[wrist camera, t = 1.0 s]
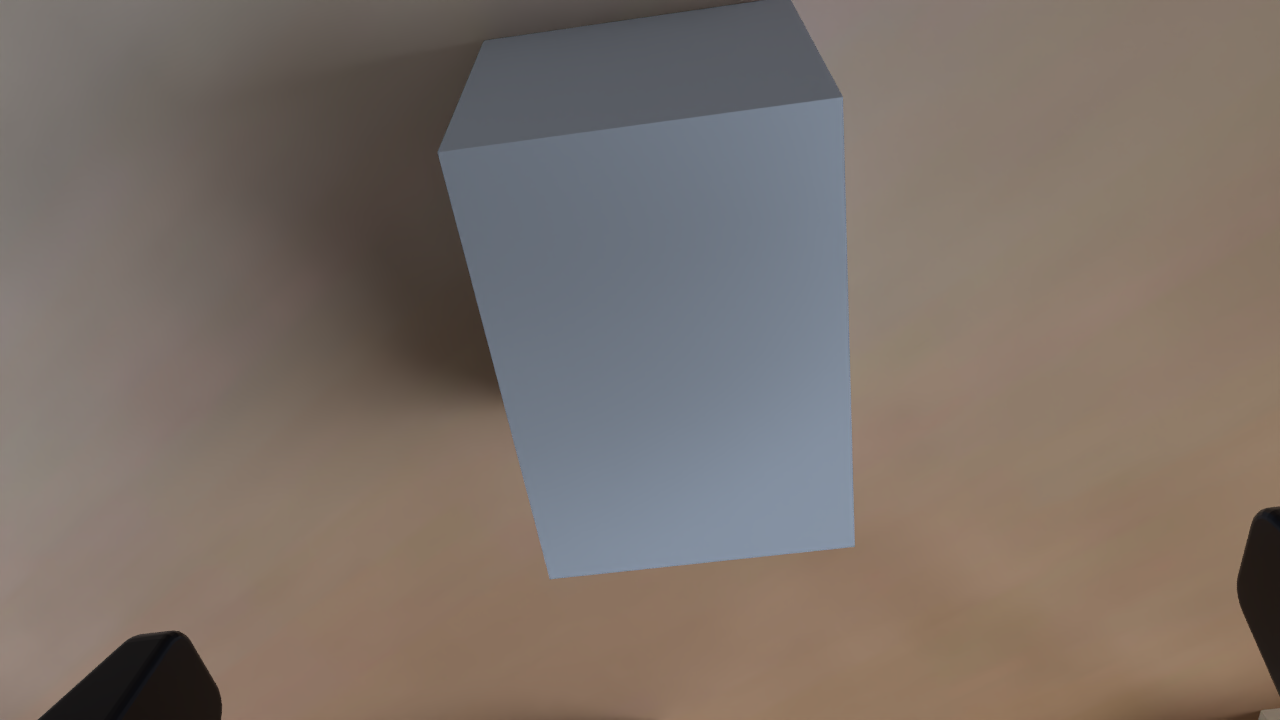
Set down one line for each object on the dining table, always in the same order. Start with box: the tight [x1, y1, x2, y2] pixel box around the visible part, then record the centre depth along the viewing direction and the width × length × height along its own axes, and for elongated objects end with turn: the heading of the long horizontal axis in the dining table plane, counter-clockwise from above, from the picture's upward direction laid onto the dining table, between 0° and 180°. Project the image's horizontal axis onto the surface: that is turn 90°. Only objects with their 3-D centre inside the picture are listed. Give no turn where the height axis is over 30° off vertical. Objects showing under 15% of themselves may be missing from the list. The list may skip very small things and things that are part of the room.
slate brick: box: [438, 0, 855, 579], centre depth 13 cm, size 6×4×4 cm, turn 8°
